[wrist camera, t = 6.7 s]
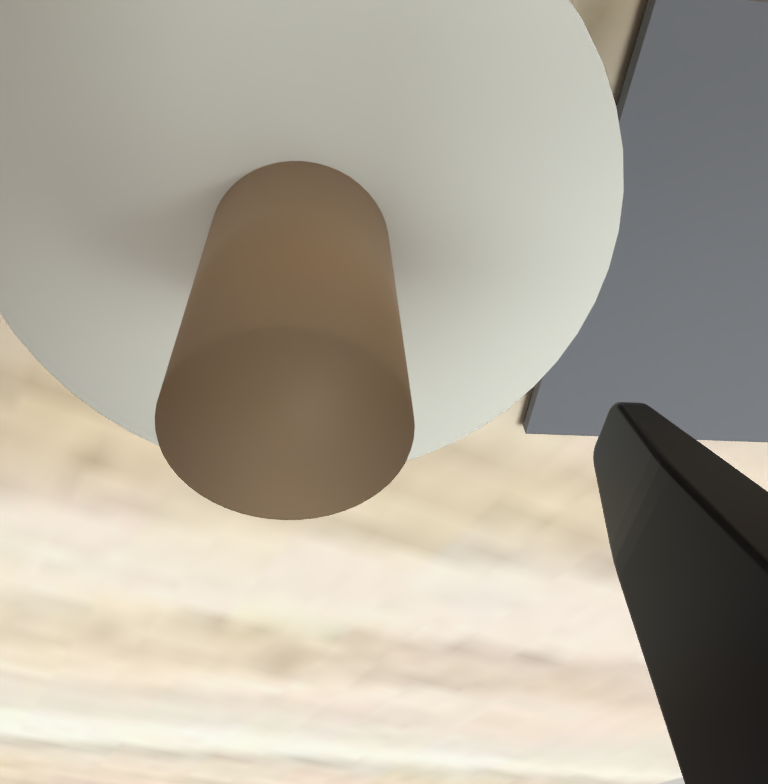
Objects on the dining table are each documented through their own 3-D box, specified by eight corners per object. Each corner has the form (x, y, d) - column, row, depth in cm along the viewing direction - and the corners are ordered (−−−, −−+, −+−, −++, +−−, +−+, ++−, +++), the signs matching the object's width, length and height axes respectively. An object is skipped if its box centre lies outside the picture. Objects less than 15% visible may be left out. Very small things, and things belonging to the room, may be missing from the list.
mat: (1081, 33, 16) (1097, 37, 15) (820, 436, 23) (827, 444, 23) (651, -13, 14) (658, -9, 14) (522, 424, 22) (525, 433, 22)
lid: (715, -109, 10) (1003, -61, 6) (531, 465, 17) (599, 678, 13) (-145, -216, 9) (-598, -261, 5) (39, 449, 16) (-69, 680, 12)
